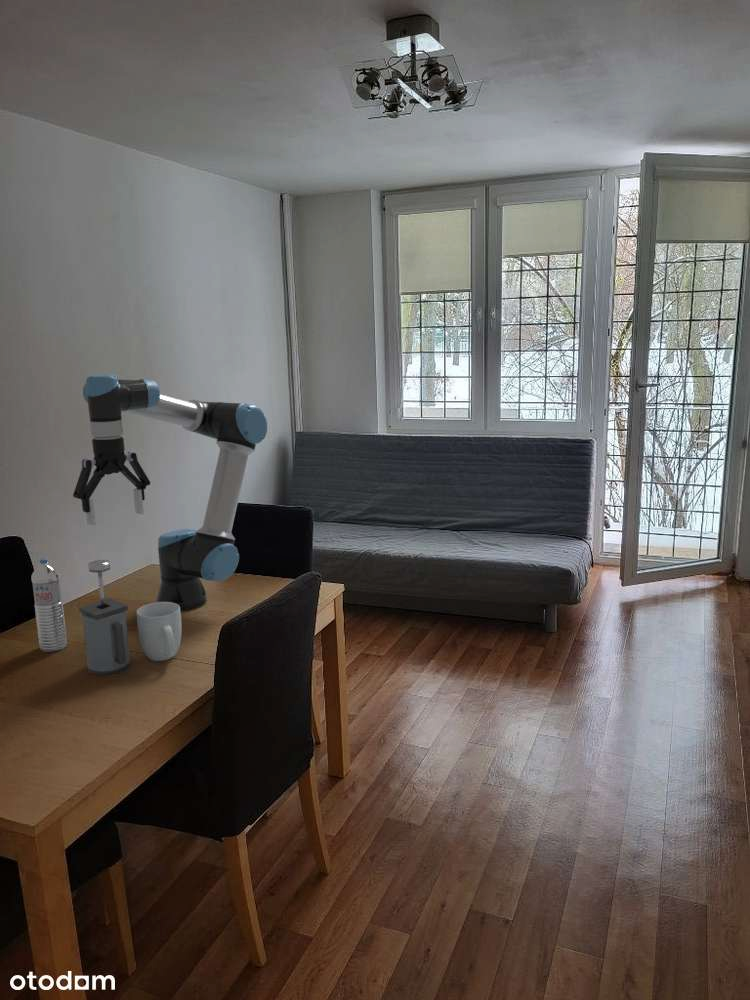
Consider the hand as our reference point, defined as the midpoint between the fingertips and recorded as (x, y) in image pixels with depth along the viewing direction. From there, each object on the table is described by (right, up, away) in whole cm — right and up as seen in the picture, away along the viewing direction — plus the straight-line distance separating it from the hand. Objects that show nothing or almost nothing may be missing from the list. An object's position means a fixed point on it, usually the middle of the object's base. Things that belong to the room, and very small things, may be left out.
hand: (116, 518), depth 190 cm
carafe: (0, -38, -3) cm, 38 cm away
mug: (+12, -37, +2) cm, 38 cm away
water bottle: (-20, -35, +9) cm, 42 cm away
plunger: (-1, -26, -5) cm, 27 cm away
